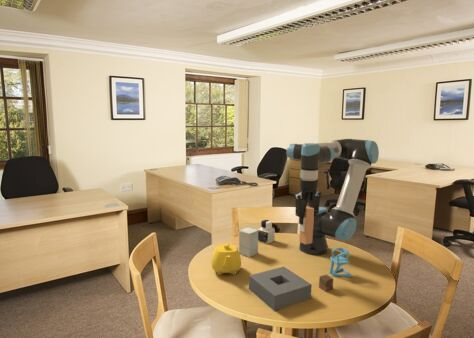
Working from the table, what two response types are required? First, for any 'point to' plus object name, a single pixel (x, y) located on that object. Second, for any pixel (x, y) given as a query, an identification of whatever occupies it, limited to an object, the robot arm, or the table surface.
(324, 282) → the short pin
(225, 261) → the teapot
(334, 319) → the table surface
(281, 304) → the hole block
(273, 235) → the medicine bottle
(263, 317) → the table surface
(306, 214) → the tall pin
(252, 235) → the supplement box
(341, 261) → the blue tall openwork piece
